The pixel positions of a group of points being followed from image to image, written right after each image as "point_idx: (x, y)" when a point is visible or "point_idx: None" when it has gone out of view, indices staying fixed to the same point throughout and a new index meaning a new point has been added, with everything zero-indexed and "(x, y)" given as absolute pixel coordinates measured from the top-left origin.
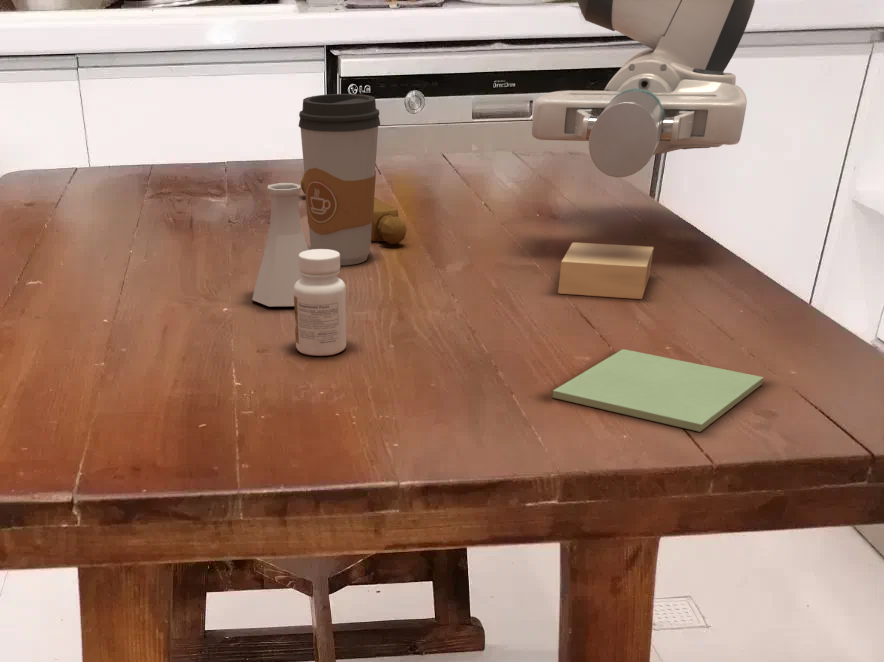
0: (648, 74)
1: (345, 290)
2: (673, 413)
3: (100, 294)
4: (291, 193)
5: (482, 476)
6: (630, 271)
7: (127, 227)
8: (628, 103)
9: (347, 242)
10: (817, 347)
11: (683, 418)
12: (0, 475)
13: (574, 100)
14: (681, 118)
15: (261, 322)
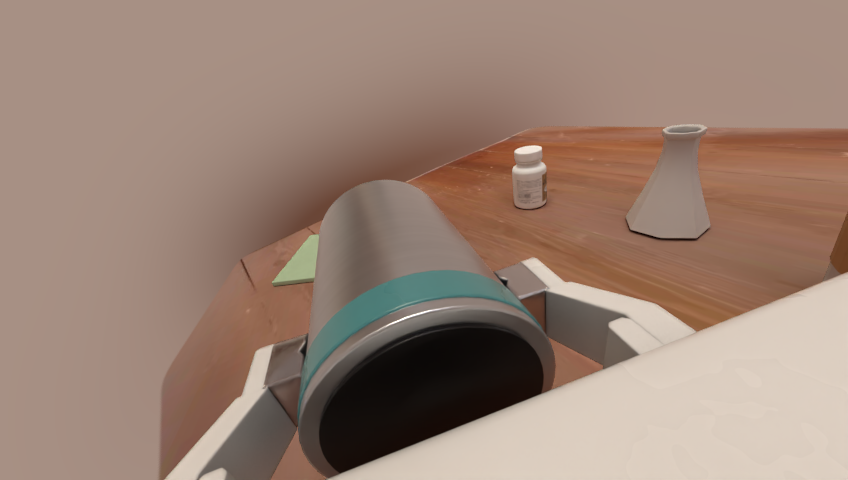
0: None
1: (515, 175)
2: None
3: (771, 169)
4: (662, 134)
5: None
6: None
7: None
8: (364, 184)
9: (825, 277)
10: (208, 364)
11: (318, 234)
12: (507, 144)
13: (753, 313)
14: (238, 399)
15: (609, 201)
